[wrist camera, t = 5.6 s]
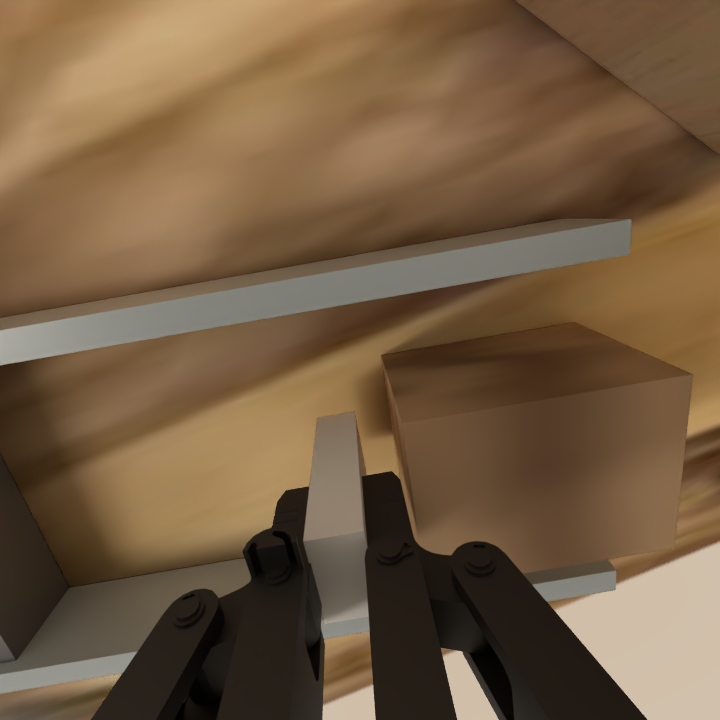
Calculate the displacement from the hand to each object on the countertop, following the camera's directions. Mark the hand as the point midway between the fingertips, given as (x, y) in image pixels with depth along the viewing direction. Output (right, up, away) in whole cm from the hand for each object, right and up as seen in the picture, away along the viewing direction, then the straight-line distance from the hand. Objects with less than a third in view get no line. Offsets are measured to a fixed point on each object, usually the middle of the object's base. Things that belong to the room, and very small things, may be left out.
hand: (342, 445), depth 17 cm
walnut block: (+6, +1, +2) cm, 6 cm away
